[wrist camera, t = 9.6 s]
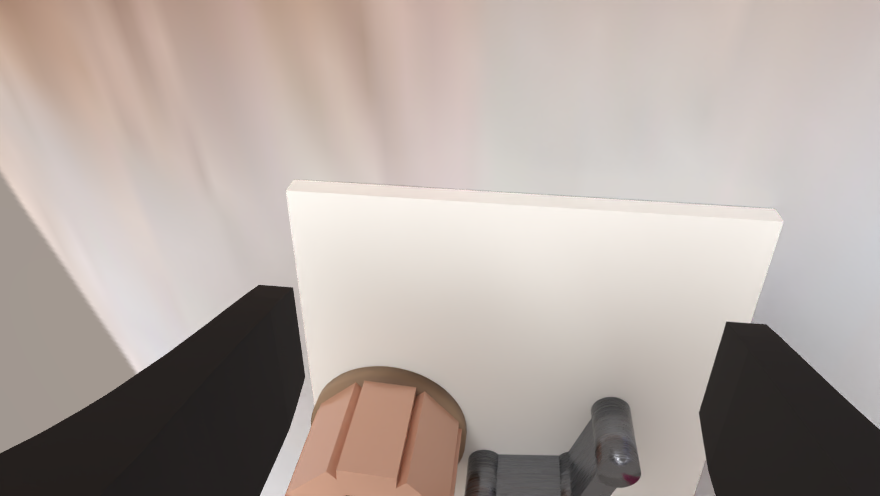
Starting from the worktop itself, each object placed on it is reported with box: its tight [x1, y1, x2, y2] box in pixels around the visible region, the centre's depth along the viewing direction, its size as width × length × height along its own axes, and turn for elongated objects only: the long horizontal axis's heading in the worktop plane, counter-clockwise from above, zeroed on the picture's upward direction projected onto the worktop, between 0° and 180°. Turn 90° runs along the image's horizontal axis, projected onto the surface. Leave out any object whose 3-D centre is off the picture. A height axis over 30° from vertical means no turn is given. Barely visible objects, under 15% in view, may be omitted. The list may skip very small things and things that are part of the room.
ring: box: [285, 381, 462, 496], centre depth 23 cm, size 6×6×4 cm
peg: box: [311, 366, 467, 496], centre depth 23 cm, size 6×6×5 cm
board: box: [286, 180, 784, 496], centre depth 24 cm, size 15×16×1 cm
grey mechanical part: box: [464, 397, 641, 496], centre depth 24 cm, size 6×5×3 cm
